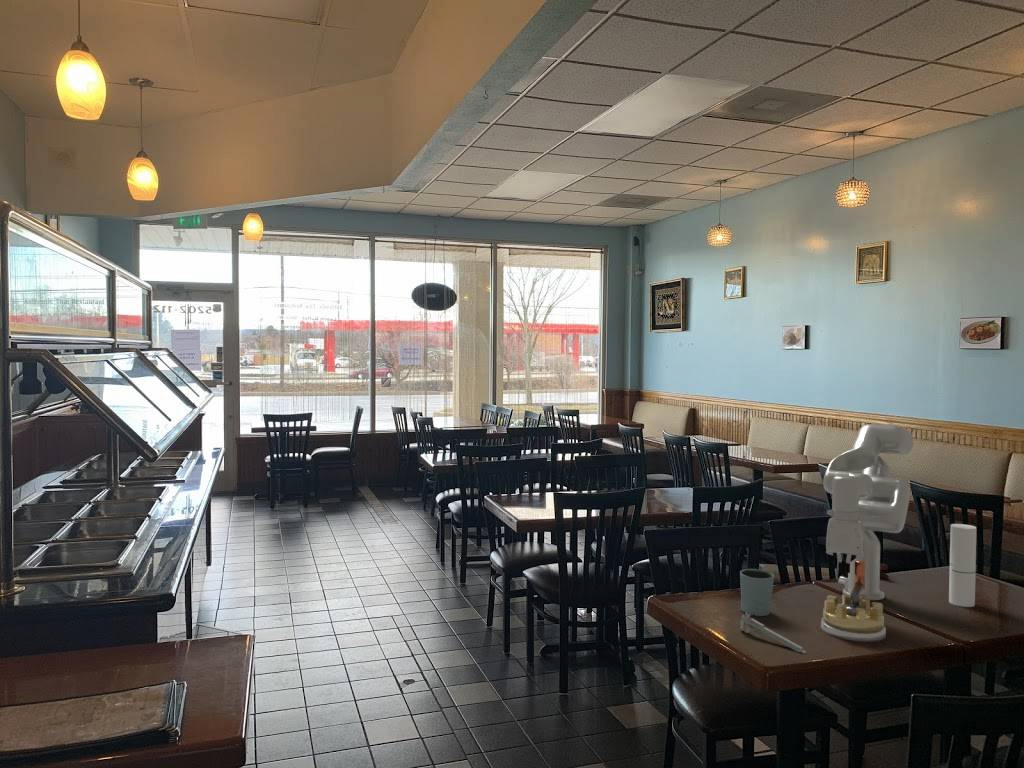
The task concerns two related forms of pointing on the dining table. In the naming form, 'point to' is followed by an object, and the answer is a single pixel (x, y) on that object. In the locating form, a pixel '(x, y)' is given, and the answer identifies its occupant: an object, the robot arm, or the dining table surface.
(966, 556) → the cylindrical container
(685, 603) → the dining table surface
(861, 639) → the plate
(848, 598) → the crank handle mechanism
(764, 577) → the grey green cup
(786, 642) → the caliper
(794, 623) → the dining table surface
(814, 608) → the dining table surface
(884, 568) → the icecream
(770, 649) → the dining table surface
